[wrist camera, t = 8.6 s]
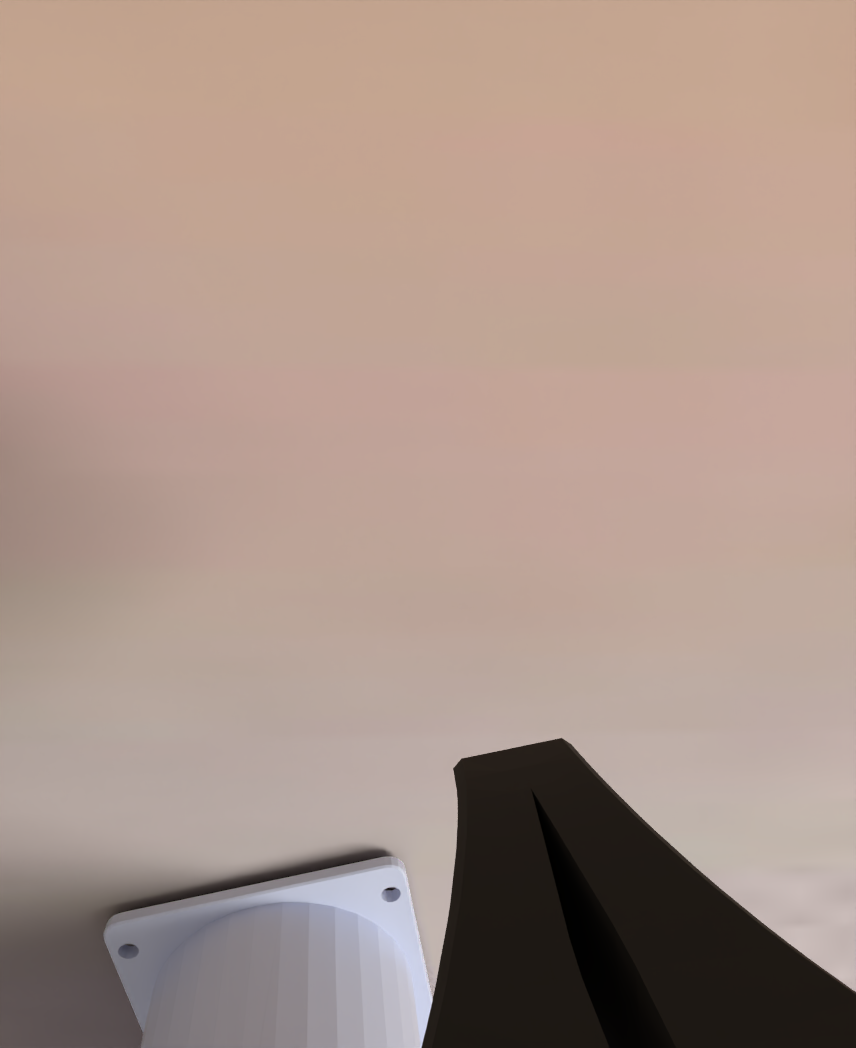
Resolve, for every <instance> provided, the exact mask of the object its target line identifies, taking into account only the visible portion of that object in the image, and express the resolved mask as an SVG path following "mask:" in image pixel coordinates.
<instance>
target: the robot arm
mask: <svg viewBox="0 0 856 1048" xmlns="http://www.w3.org/2000/svg"><path fill="white" fill-rule="evenodd" d="M453 770H454V775H455V781H456V787H457V797H458V829H457V849H456V858H455V867H454V876H453V885H452V894H451V903H450V910H449V916H448V922H447V928H446V933H445V939H444V944H443V949H442V955H441V960H440V966H439V971H438V976H437V982H436V987H435V992H434V996H433V998H432V994H431V989H430V984H429V979H428V975H427V970H426V965H425V960H424V955H423V951H422V946H421V941H420V936H419V931H418V927H417V922H416V917H415V912H414V907H413V903H412V898H411V893H410V888H409V884H408V879H407V874H406V869H405V866H404V864H403V862H402V861H401V860H399V859H398V858H395V857H392V856H387V857H380V858H375V859H371V860H366V861H361V862H356V863H352V864H347V865H342V866H338V867H333V868H328V869H324V870H319V871H314V872H309V873H305V874H300V875H295V876H291V877H286V878H281V879H277V880H272V881H267V882H262V883H258V884H253V885H248V886H244V887H239V888H234V889H230V890H225V891H220V892H215V893H211V894H206V895H201V896H197V897H192V898H187V899H183V900H178V901H173V902H168V903H164V904H159V905H154V906H150V907H145V908H140V909H136V910H131V911H126V912H121V913H118V914H116V915H113V916H112V917H111V918H110V919H109V920H108V922H107V924H106V927H105V931H104V934H103V936H104V941H105V944H106V946H107V949H108V951H109V953H110V956H111V958H112V961H113V963H114V965H115V968H116V970H117V973H118V975H119V977H120V980H121V982H122V984H123V987H124V989H125V992H126V994H127V996H128V999H129V1001H130V1004H131V1006H132V1008H133V1011H134V1013H135V1016H136V1018H137V1020H138V1023H139V1025H140V1028H141V1030H142V1032H143V1038H142V1042H141V1047H140V1048H856V992H855V991H853V990H852V989H850V988H849V987H848V986H846V985H845V984H843V983H842V982H841V981H839V980H838V979H836V978H835V977H834V976H832V975H831V974H829V973H828V972H827V971H825V970H824V969H822V968H821V967H820V966H818V965H817V964H815V963H814V962H813V961H811V960H810V959H809V958H807V957H806V956H805V955H803V954H802V953H801V952H799V951H798V950H797V949H795V948H794V947H793V946H791V945H790V944H789V943H787V942H786V941H785V940H784V939H782V938H781V937H780V936H778V935H777V934H776V933H775V932H773V931H772V930H771V929H769V928H768V927H767V926H766V925H764V924H763V923H762V922H760V921H759V920H758V919H757V918H756V917H754V916H753V915H752V914H751V913H749V912H748V911H747V910H746V909H745V908H743V907H742V906H741V905H740V904H738V903H737V902H736V901H735V900H733V899H732V898H731V897H730V896H729V895H727V894H726V893H725V892H724V891H722V890H721V889H720V888H719V887H718V886H717V885H715V884H714V883H713V882H712V881H711V880H710V879H708V878H707V877H706V876H705V875H704V874H703V873H701V872H700V871H699V870H698V869H697V868H696V867H695V866H693V865H692V864H691V863H690V862H689V861H688V860H687V859H686V858H685V857H684V856H682V855H681V854H680V853H679V852H678V851H677V850H676V849H675V848H674V847H673V846H671V845H670V844H669V843H668V842H667V841H666V840H665V839H664V838H663V837H661V836H660V835H659V834H658V833H657V832H656V831H655V830H654V829H653V828H652V827H651V826H650V825H649V824H647V823H646V822H645V821H644V820H643V819H642V818H641V817H640V816H639V815H638V814H637V813H636V812H635V811H634V810H633V809H632V808H631V807H630V806H629V805H628V804H627V803H626V802H625V801H624V800H623V799H622V798H621V797H620V796H619V795H618V794H617V793H616V792H615V791H614V790H613V789H612V788H611V787H610V786H609V785H608V784H607V783H606V782H605V781H604V780H603V779H602V778H601V777H600V776H599V775H598V773H597V772H596V771H595V770H594V769H593V768H592V767H591V766H590V765H589V764H588V763H587V762H586V761H585V759H584V758H583V757H582V756H581V755H580V754H579V753H578V752H577V751H576V749H575V748H574V747H573V746H572V745H571V744H570V743H568V742H567V741H565V740H564V739H562V738H560V739H555V740H550V741H546V742H541V743H536V744H531V745H526V746H521V747H516V748H512V749H507V750H502V751H497V752H492V753H487V754H482V755H478V756H473V757H468V758H463V759H461V760H460V761H459V762H458V764H457V765H456V766H455V767H454V768H453ZM389 887H395V888H396V889H393V890H387V891H386V890H384V889H386V888H389ZM126 944H133V945H135V946H128V945H126Z"/></svg>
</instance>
